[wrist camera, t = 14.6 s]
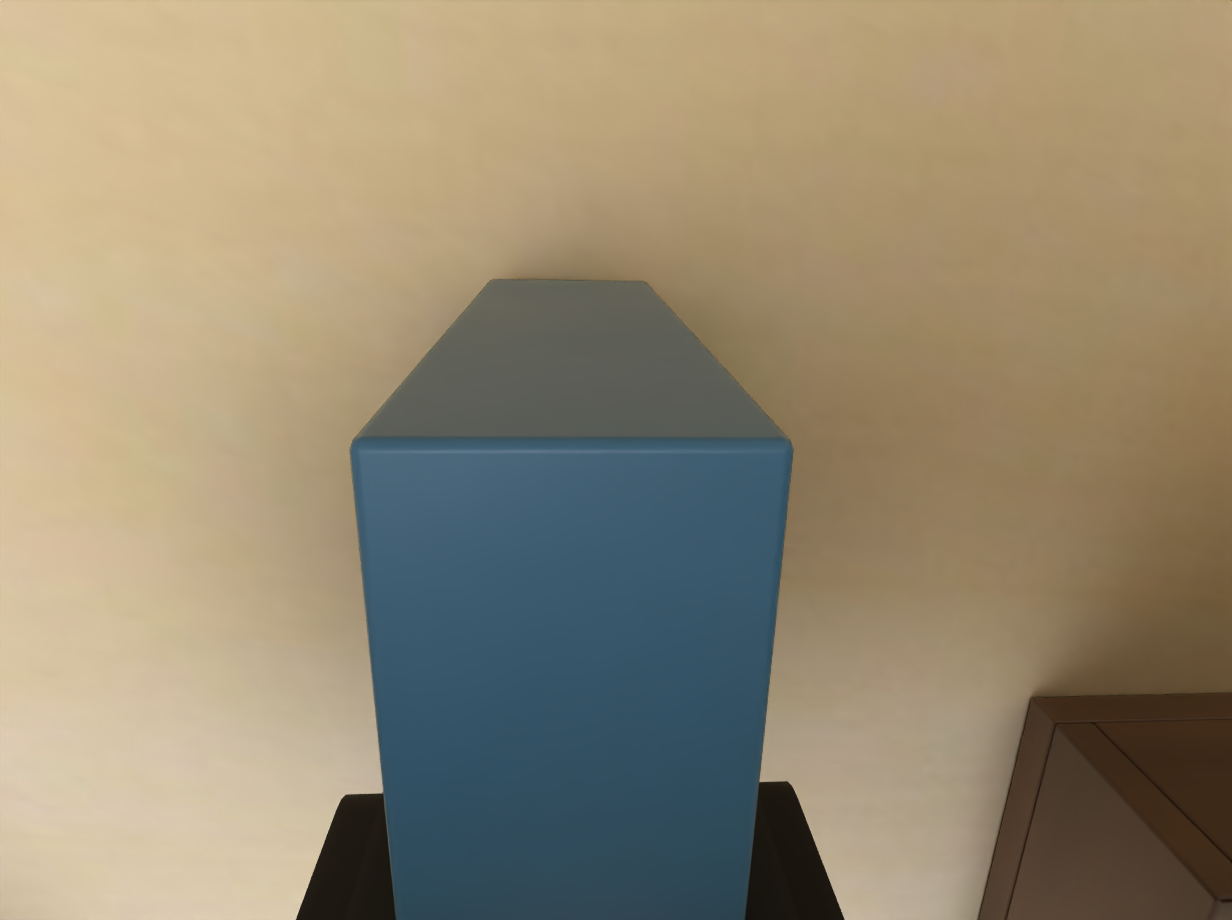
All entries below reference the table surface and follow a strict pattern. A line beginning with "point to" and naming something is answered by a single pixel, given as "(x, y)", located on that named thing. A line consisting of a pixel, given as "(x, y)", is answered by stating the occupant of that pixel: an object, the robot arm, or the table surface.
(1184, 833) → the box
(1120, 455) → the table surface
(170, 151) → the table surface
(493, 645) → the blue hardcover book
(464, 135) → the table surface
